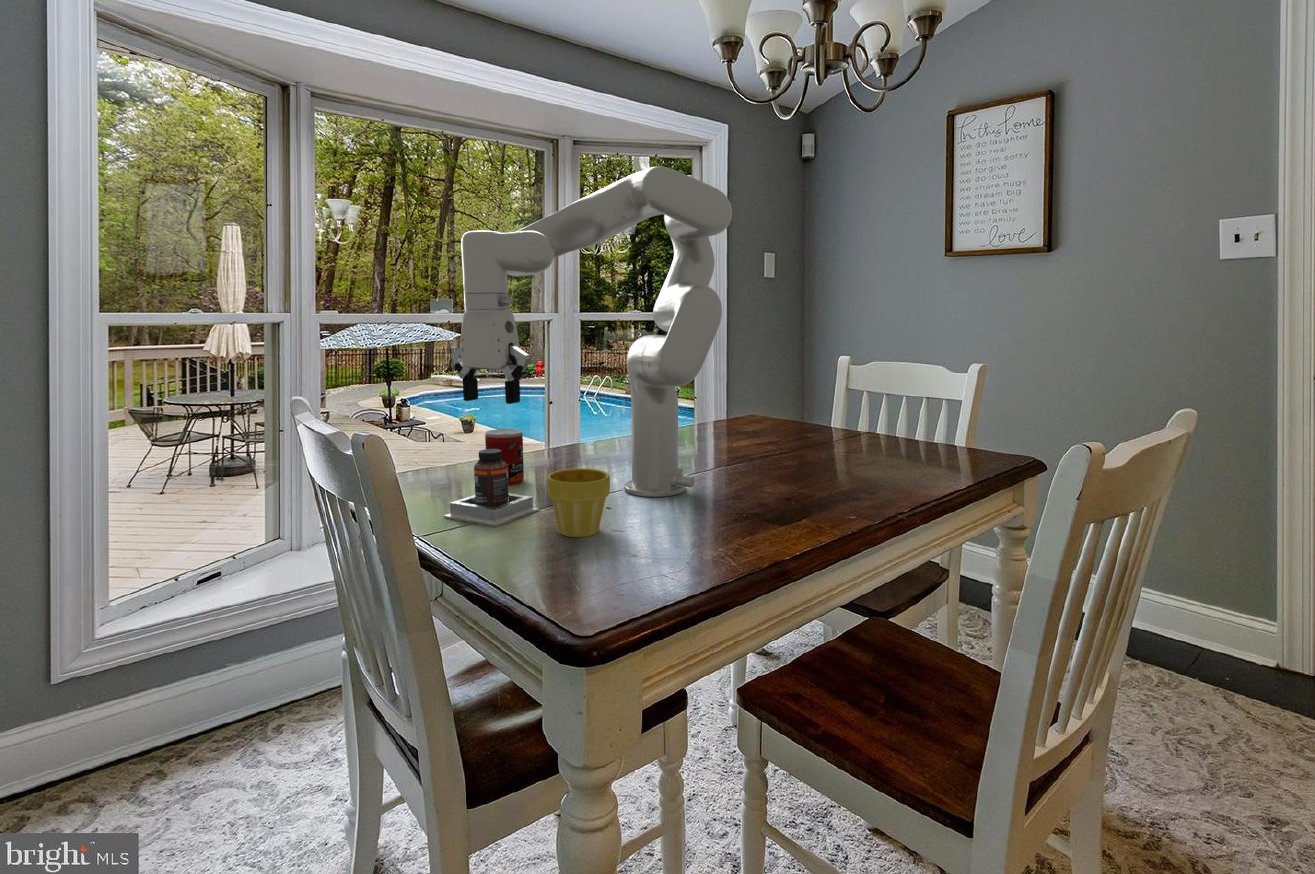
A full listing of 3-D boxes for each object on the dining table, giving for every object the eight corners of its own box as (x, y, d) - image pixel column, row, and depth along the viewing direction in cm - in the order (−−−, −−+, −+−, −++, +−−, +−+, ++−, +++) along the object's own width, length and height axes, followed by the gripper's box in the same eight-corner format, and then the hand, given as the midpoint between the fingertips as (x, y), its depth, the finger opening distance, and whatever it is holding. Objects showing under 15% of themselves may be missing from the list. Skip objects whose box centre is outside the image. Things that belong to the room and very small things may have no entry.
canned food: (516, 486, 154) (514, 435, 153) (480, 485, 156) (478, 433, 154) (529, 478, 162) (528, 429, 160) (495, 477, 163) (493, 428, 162)
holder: (539, 510, 136) (538, 496, 136) (495, 527, 126) (494, 511, 125) (489, 502, 142) (489, 488, 141) (444, 517, 131) (443, 503, 131)
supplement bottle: (515, 509, 136) (513, 448, 134) (498, 517, 130) (496, 454, 128) (487, 506, 138) (484, 446, 136) (469, 514, 132) (466, 452, 130)
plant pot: (611, 540, 119) (610, 481, 117) (546, 541, 118) (544, 482, 116) (610, 522, 129) (609, 467, 127) (550, 523, 128) (549, 468, 126)
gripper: (539, 303, 128) (543, 401, 131) (464, 304, 136) (469, 396, 139) (511, 303, 121) (516, 406, 124) (434, 305, 129) (440, 401, 132)
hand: (491, 401), depth 131 cm, fingers open, 9 cm apart
